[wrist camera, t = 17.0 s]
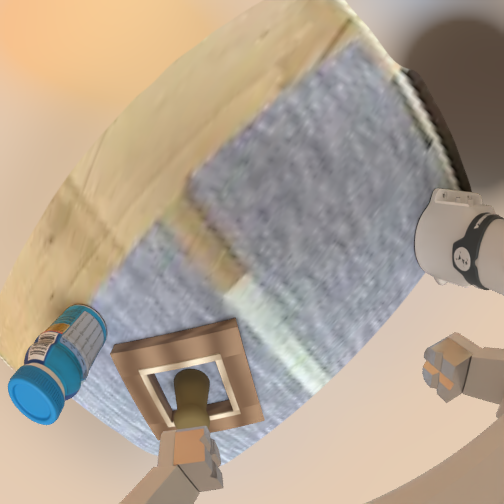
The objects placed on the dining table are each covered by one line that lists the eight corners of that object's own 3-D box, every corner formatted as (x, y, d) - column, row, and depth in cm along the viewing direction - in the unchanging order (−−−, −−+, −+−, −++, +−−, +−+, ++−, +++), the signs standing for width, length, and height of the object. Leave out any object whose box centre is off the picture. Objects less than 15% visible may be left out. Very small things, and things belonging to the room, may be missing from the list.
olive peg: (199, 400, 46) (202, 446, 35) (168, 387, 44) (163, 433, 34) (216, 377, 45) (221, 422, 35) (183, 363, 44) (180, 408, 33)
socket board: (235, 318, 43) (237, 327, 40) (261, 409, 48) (264, 421, 45) (114, 344, 41) (109, 355, 38) (159, 429, 46) (158, 441, 43)
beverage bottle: (116, 321, 41) (70, 403, 21) (98, 358, 41) (57, 442, 22) (71, 292, 38) (3, 356, 19) (57, 331, 39) (-1, 402, 20)
